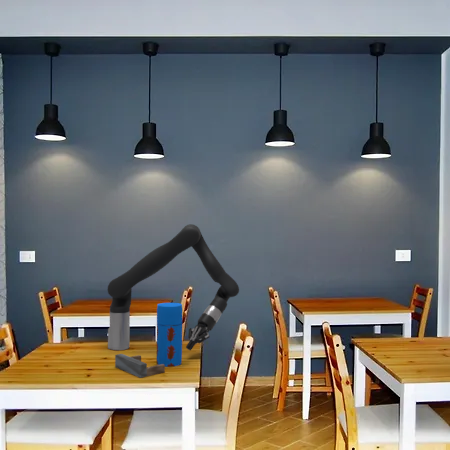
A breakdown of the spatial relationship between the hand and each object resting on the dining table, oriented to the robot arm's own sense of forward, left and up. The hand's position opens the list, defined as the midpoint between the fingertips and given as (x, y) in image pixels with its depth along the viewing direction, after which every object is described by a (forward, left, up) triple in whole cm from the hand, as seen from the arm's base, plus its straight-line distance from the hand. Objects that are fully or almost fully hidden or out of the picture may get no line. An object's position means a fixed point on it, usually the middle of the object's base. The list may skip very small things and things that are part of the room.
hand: (188, 348), depth 234 cm
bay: (-16, -19, -4) cm, 25 cm away
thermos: (-7, -7, -5) cm, 11 cm away
